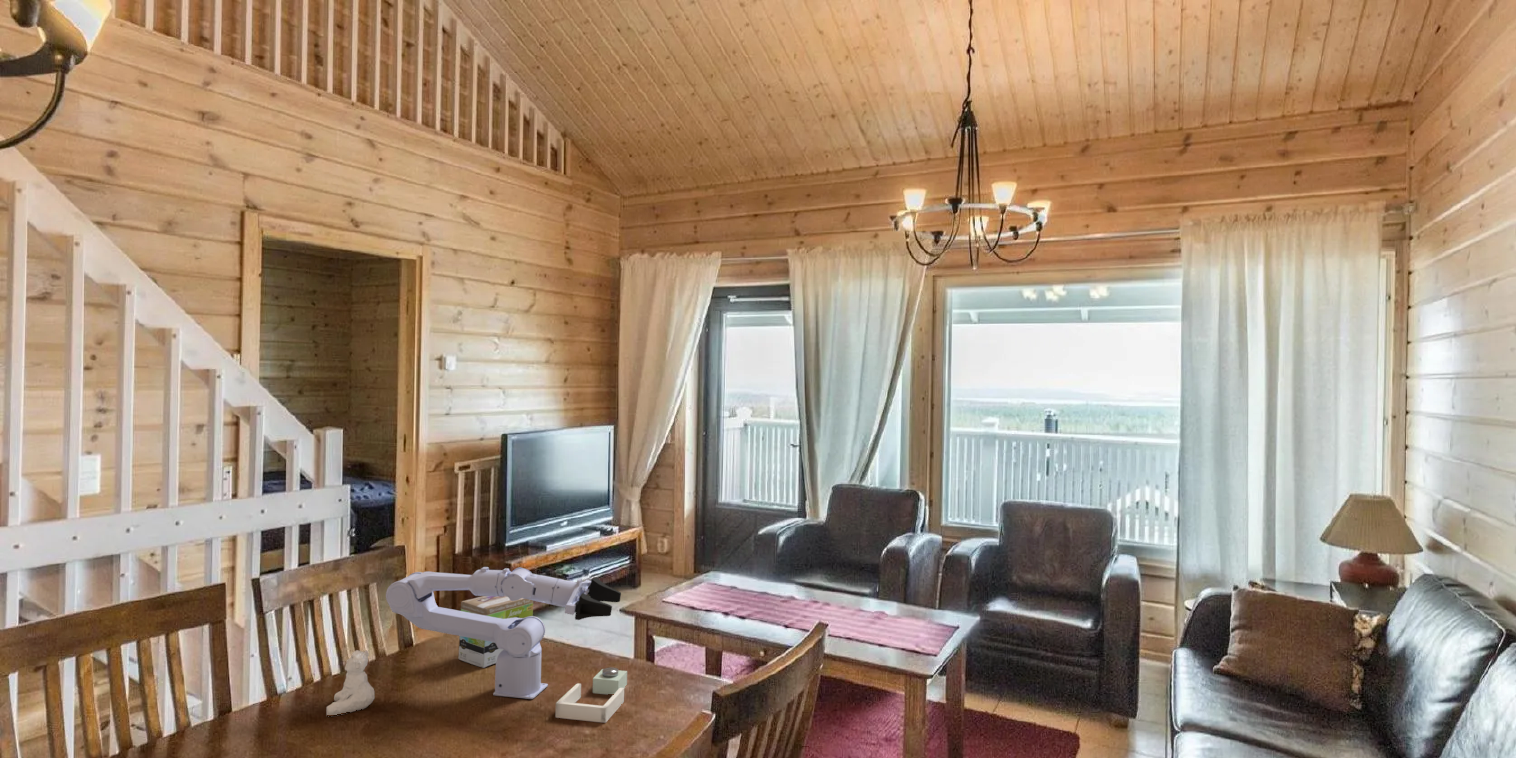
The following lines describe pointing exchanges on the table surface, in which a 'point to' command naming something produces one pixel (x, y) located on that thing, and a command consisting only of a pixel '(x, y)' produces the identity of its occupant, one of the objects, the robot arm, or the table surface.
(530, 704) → the table surface
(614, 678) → the block
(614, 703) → the housing bay
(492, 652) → the tea box
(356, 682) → the seated beast figurine
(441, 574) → the robot arm
